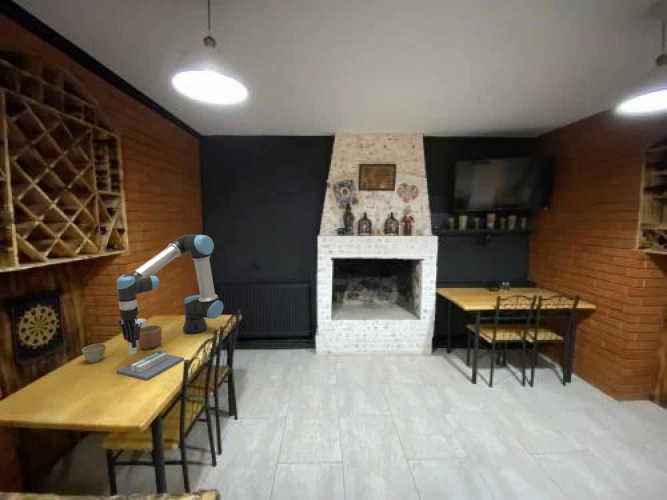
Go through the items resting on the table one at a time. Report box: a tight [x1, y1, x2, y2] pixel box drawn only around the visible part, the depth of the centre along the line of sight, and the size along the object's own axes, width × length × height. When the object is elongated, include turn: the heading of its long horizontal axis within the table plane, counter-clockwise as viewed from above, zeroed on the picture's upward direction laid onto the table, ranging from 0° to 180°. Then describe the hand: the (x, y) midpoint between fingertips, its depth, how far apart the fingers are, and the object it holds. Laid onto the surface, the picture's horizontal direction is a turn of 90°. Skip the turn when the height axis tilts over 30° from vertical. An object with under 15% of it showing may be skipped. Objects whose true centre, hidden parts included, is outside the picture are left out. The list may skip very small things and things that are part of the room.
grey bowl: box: [81, 343, 107, 363], centre depth 167 cm, size 10×10×7 cm
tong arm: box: [131, 352, 163, 372], centre depth 160 cm, size 16×2×3 cm, turn 160°
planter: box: [137, 324, 163, 350], centre depth 184 cm, size 12×12×11 cm
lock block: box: [150, 346, 166, 355], centre depth 171 cm, size 6×4×3 cm, turn 160°
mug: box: [136, 318, 147, 343], centre depth 193 cm, size 12×8×12 cm
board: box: [115, 351, 185, 382], centre depth 161 cm, size 24×20×5 cm
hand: (133, 353), depth 159 cm, fingers closed
